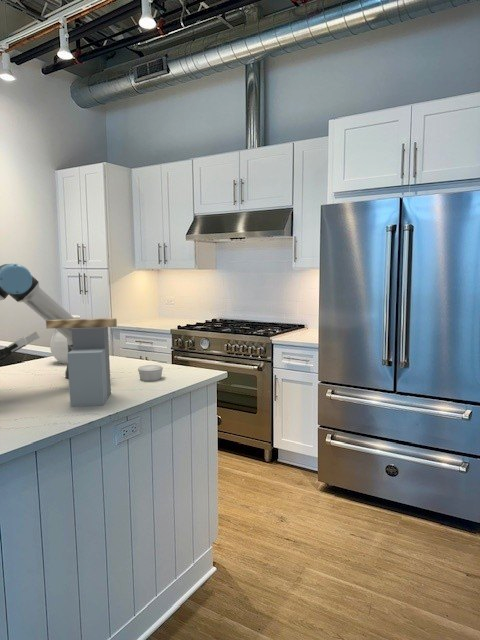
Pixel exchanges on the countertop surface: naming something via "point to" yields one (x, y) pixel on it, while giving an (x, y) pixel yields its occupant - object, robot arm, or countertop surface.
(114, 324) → the oak bar
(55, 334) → the pitcher
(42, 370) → the countertop surface
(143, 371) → the ramekin
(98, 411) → the countertop surface
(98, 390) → the stand
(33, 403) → the countertop surface
